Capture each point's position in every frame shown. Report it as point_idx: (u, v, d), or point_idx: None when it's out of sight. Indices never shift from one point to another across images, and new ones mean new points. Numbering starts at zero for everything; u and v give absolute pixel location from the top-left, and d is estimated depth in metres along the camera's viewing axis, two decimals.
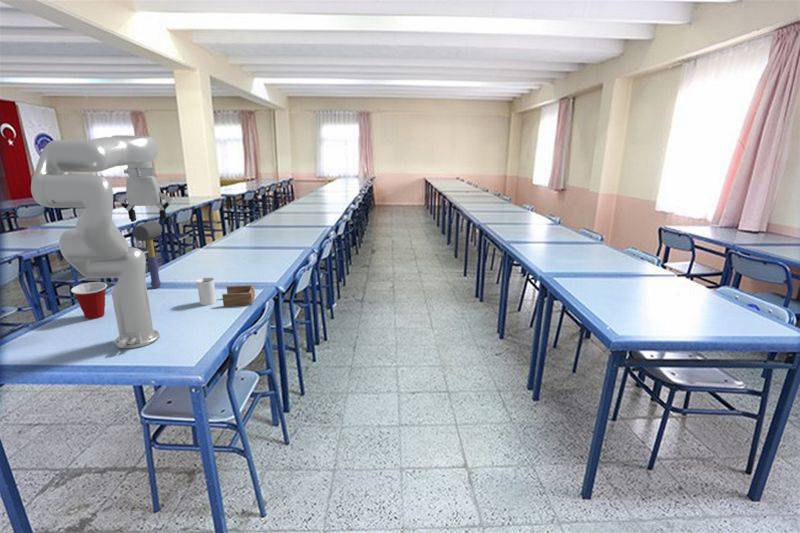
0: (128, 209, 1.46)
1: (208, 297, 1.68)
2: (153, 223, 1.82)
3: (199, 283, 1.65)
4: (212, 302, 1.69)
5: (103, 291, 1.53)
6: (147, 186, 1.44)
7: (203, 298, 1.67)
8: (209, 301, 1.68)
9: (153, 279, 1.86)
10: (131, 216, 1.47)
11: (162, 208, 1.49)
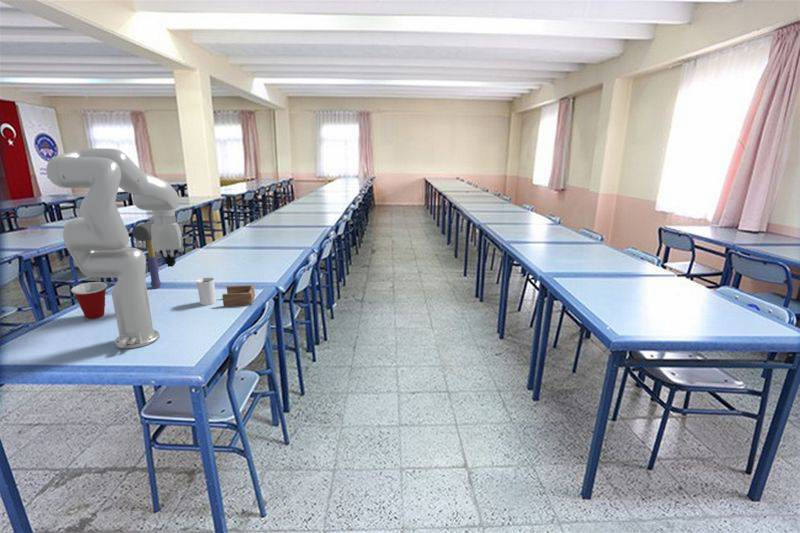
0: (165, 255, 1.61)
1: (208, 297, 1.68)
2: (153, 223, 1.82)
3: (199, 283, 1.65)
4: (212, 302, 1.69)
5: (103, 291, 1.53)
6: (170, 232, 1.58)
7: (203, 298, 1.67)
8: (209, 301, 1.68)
9: (153, 279, 1.86)
10: (168, 262, 1.62)
11: (172, 255, 1.62)
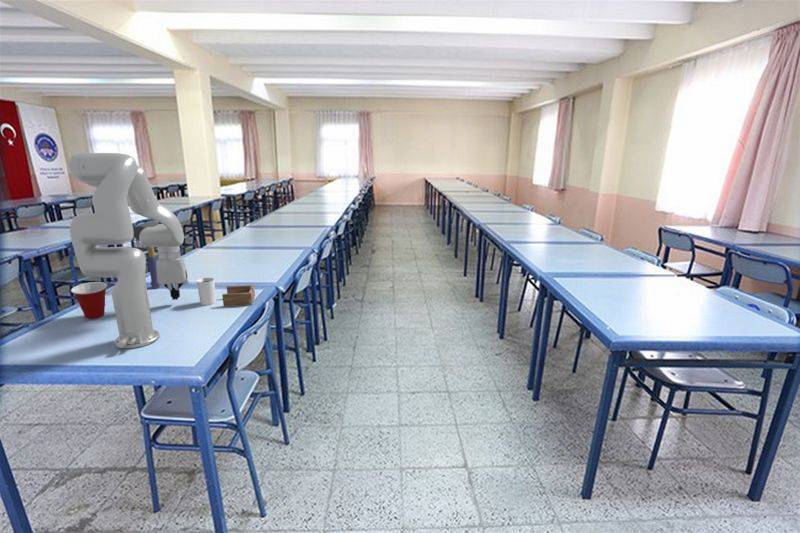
0: (170, 289, 1.65)
1: (208, 297, 1.68)
2: (153, 223, 1.82)
3: (199, 283, 1.65)
4: (212, 302, 1.69)
5: (103, 291, 1.53)
6: (175, 267, 1.62)
7: (203, 298, 1.67)
8: (209, 301, 1.68)
9: (153, 279, 1.86)
10: (173, 295, 1.65)
11: (176, 288, 1.65)
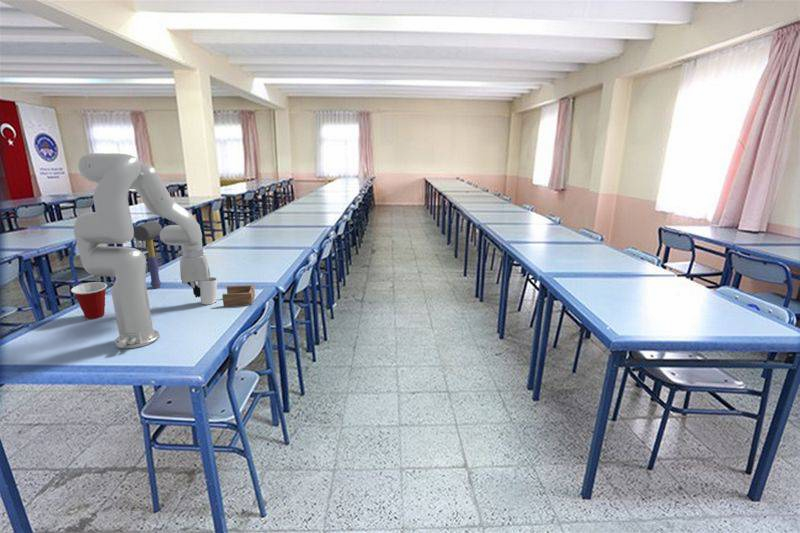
0: (193, 287, 1.67)
1: (209, 296, 1.68)
2: (153, 223, 1.82)
3: (202, 281, 1.66)
4: (212, 302, 1.69)
5: (103, 291, 1.53)
6: (198, 265, 1.64)
7: (204, 297, 1.67)
8: (210, 300, 1.68)
9: (153, 279, 1.86)
10: (195, 293, 1.68)
11: (199, 286, 1.67)
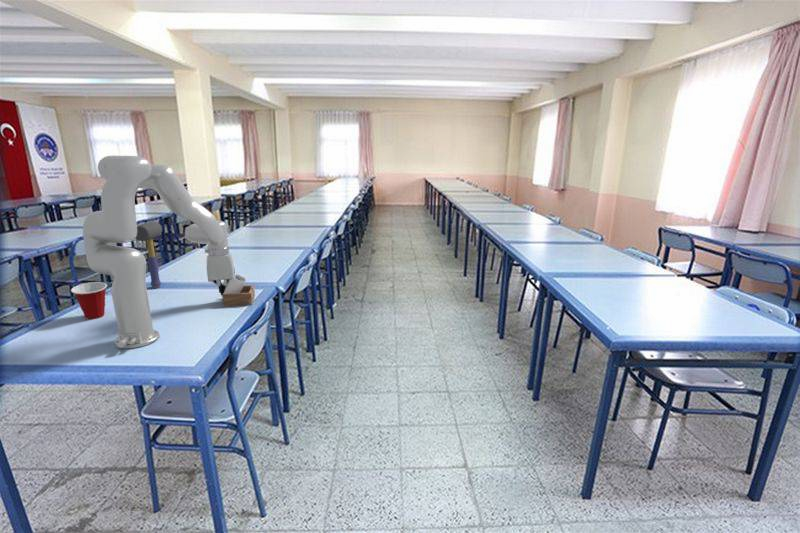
0: (219, 285, 1.69)
1: None
2: (153, 223, 1.82)
3: (233, 278, 1.69)
4: None
5: (103, 291, 1.53)
6: (225, 263, 1.66)
7: (228, 293, 1.69)
8: None
9: (153, 279, 1.86)
10: (221, 291, 1.70)
11: (225, 284, 1.70)
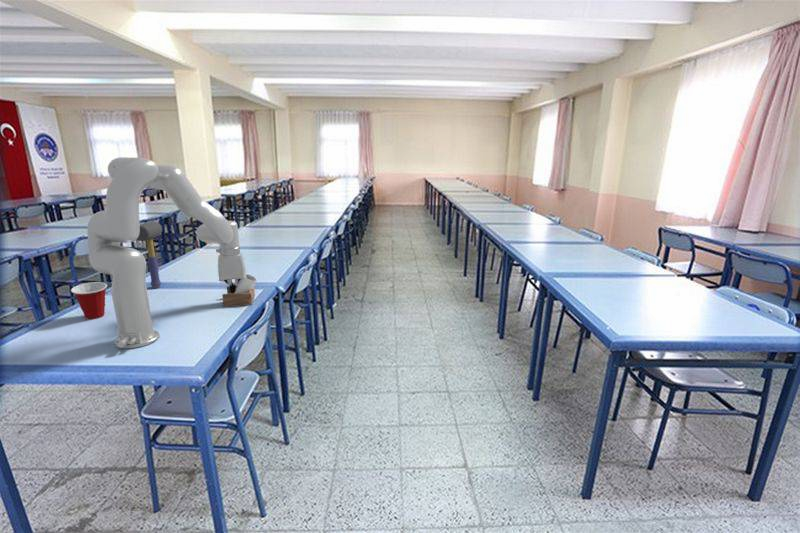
0: (230, 284, 1.70)
1: None
2: (153, 223, 1.82)
3: (244, 278, 1.69)
4: None
5: (103, 291, 1.53)
6: (236, 263, 1.67)
7: (239, 292, 1.70)
8: None
9: (153, 279, 1.86)
10: (232, 290, 1.71)
11: (236, 283, 1.71)
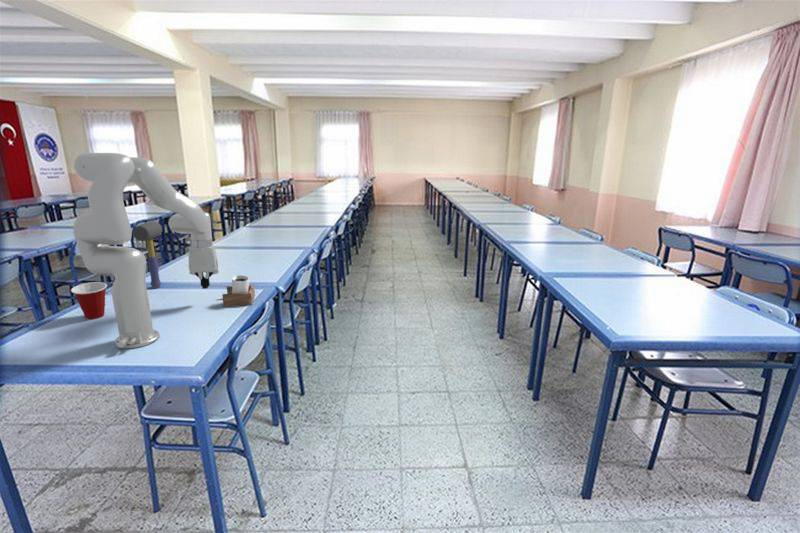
0: (201, 278, 1.65)
1: None
2: (153, 223, 1.82)
3: (235, 282, 1.67)
4: None
5: (103, 291, 1.53)
6: (207, 255, 1.63)
7: None
8: None
9: (153, 279, 1.86)
10: (203, 284, 1.66)
11: (207, 277, 1.66)
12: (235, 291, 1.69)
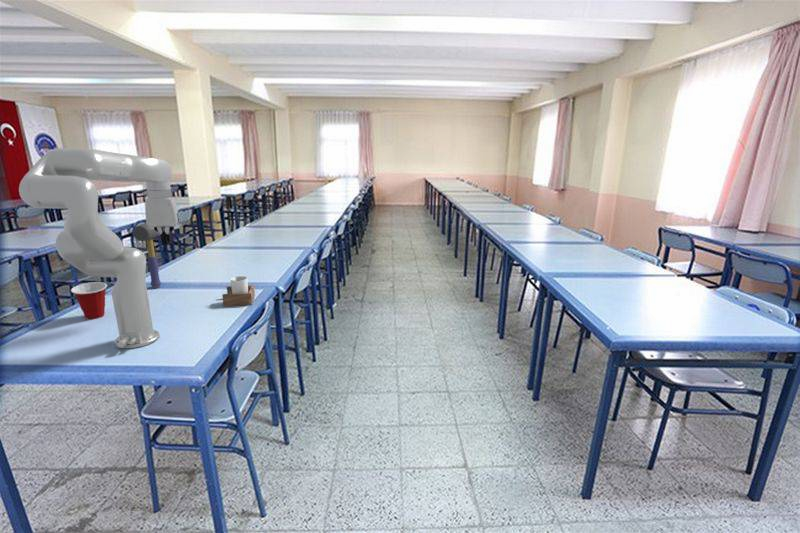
0: (160, 233, 1.51)
1: None
2: None
3: (234, 281, 1.68)
4: None
5: (103, 291, 1.53)
6: (166, 207, 1.48)
7: None
8: None
9: (153, 279, 1.86)
10: (163, 239, 1.52)
11: (167, 232, 1.52)
12: (235, 291, 1.69)
